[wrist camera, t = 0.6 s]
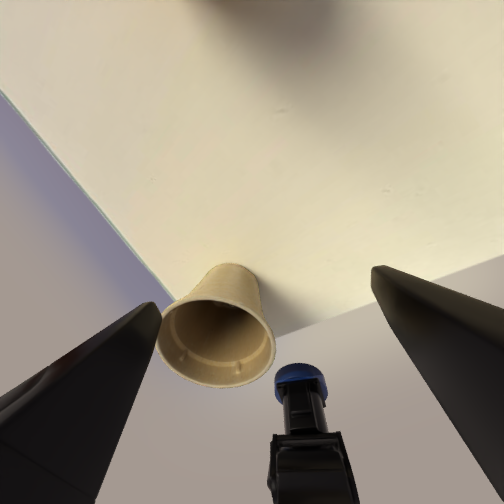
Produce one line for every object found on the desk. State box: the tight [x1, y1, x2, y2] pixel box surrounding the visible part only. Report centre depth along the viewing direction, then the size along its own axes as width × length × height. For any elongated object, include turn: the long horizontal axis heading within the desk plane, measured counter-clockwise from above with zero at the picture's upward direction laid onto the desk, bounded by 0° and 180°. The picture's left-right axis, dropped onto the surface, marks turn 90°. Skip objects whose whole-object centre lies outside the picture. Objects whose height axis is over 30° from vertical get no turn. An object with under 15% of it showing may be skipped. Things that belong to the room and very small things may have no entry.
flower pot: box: [155, 263, 276, 388], centre depth 20 cm, size 9×9×9 cm
